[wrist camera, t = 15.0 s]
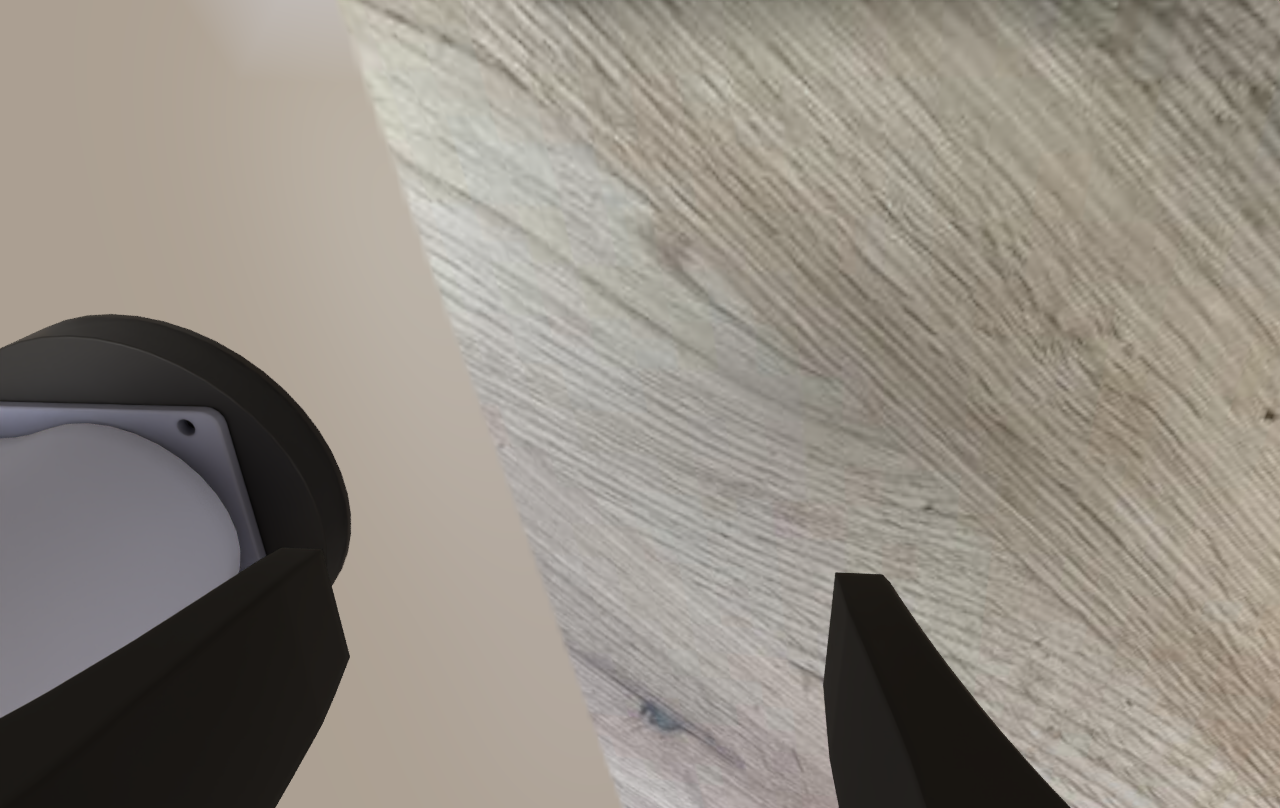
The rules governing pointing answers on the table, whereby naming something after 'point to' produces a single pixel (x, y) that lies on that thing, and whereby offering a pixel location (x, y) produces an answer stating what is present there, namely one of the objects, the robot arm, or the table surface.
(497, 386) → the table surface
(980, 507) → the table surface
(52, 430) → the robot arm
